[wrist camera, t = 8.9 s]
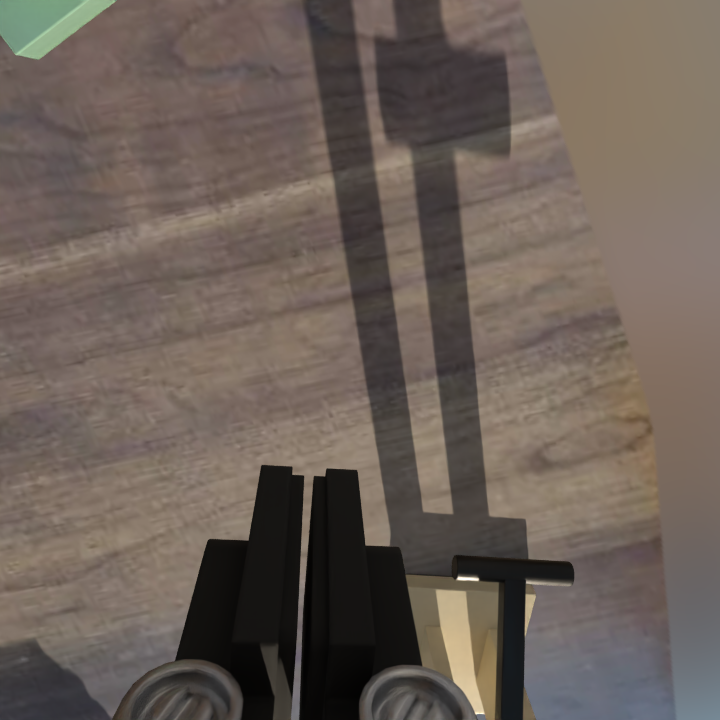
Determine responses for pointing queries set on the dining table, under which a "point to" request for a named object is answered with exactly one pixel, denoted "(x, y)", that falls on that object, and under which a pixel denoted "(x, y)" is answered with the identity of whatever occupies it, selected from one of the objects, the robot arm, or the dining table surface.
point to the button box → (44, 23)
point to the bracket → (462, 634)
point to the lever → (511, 616)
